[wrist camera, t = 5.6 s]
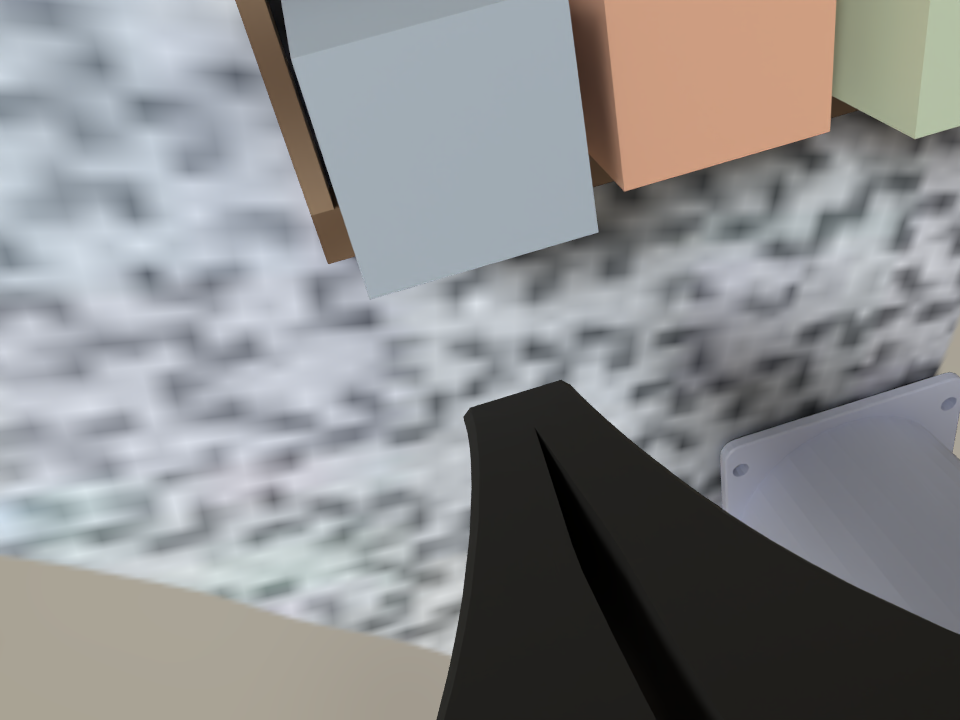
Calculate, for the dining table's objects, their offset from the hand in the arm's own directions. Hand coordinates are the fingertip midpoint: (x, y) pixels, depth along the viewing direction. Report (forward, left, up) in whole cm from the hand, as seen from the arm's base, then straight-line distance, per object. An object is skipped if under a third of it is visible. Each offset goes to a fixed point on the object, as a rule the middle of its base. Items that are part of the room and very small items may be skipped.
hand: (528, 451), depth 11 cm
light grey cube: (+2, 0, -9) cm, 9 cm away
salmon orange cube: (+2, -5, -10) cm, 11 cm away
